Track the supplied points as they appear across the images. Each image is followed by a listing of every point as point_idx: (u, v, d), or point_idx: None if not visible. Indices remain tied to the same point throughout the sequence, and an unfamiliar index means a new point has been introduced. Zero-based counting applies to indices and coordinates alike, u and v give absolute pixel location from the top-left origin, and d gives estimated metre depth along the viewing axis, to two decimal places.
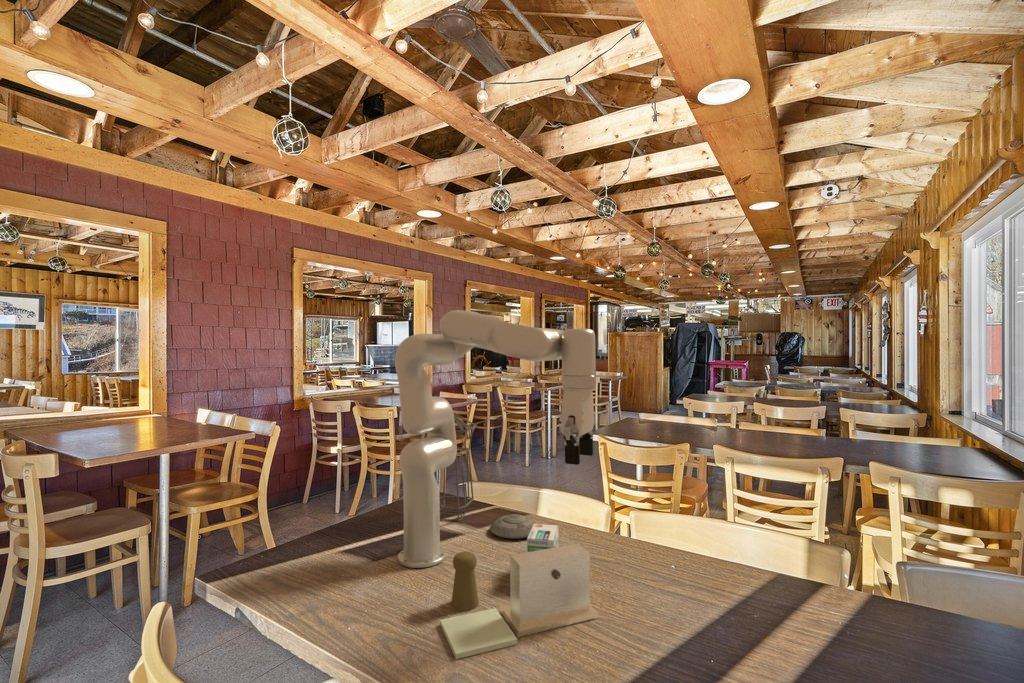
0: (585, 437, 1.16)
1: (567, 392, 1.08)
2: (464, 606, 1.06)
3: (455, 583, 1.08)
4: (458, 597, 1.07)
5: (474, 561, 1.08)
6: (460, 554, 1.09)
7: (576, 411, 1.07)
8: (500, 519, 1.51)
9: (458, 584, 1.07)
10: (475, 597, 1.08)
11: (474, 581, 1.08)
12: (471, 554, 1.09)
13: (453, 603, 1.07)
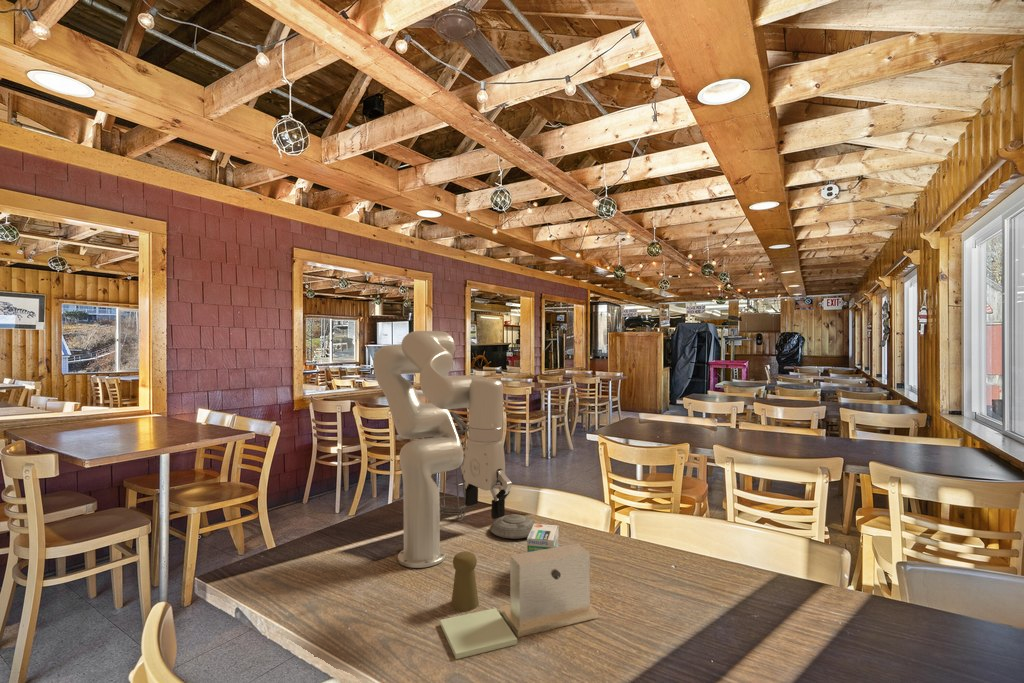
0: (472, 487, 1.14)
1: (493, 446, 1.06)
2: (464, 606, 1.06)
3: (455, 583, 1.08)
4: (458, 597, 1.07)
5: (474, 561, 1.08)
6: (460, 554, 1.09)
7: (502, 464, 1.07)
8: (500, 519, 1.51)
9: (458, 584, 1.07)
10: (475, 597, 1.08)
11: (474, 581, 1.08)
12: (471, 554, 1.09)
13: (453, 603, 1.07)
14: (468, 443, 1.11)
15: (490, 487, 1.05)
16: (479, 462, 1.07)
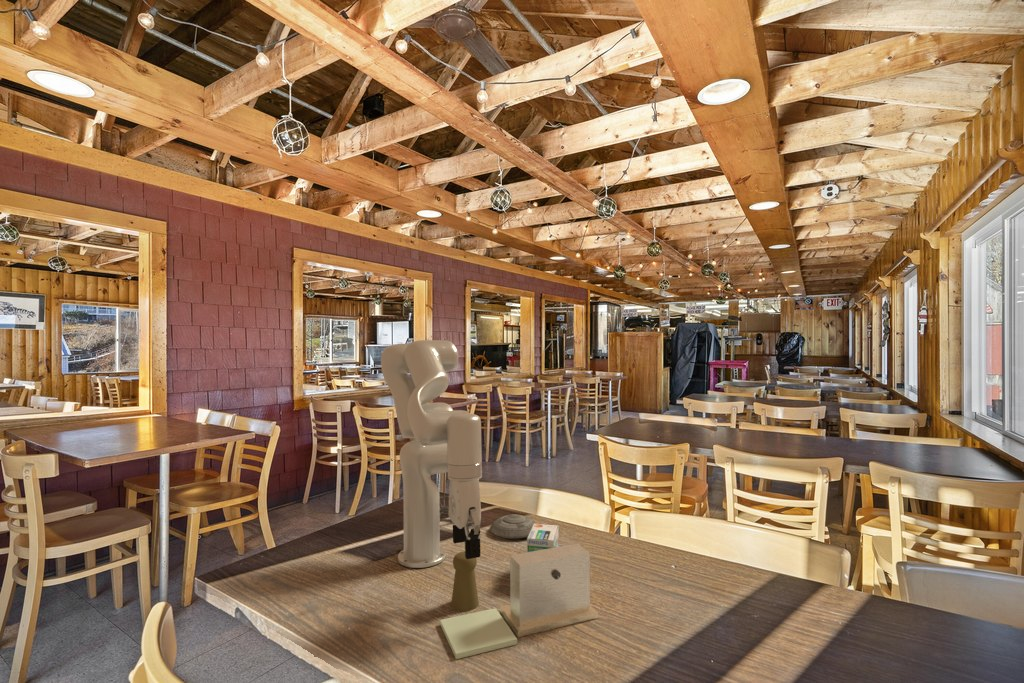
0: None
1: (465, 483, 1.04)
2: (464, 606, 1.06)
3: (455, 583, 1.08)
4: (458, 597, 1.07)
5: (474, 561, 1.08)
6: (460, 554, 1.09)
7: (476, 502, 1.05)
8: (500, 519, 1.51)
9: (458, 584, 1.07)
10: (475, 597, 1.08)
11: (474, 581, 1.08)
12: None
13: (453, 603, 1.07)
14: None
15: (462, 525, 1.03)
16: (454, 499, 1.06)
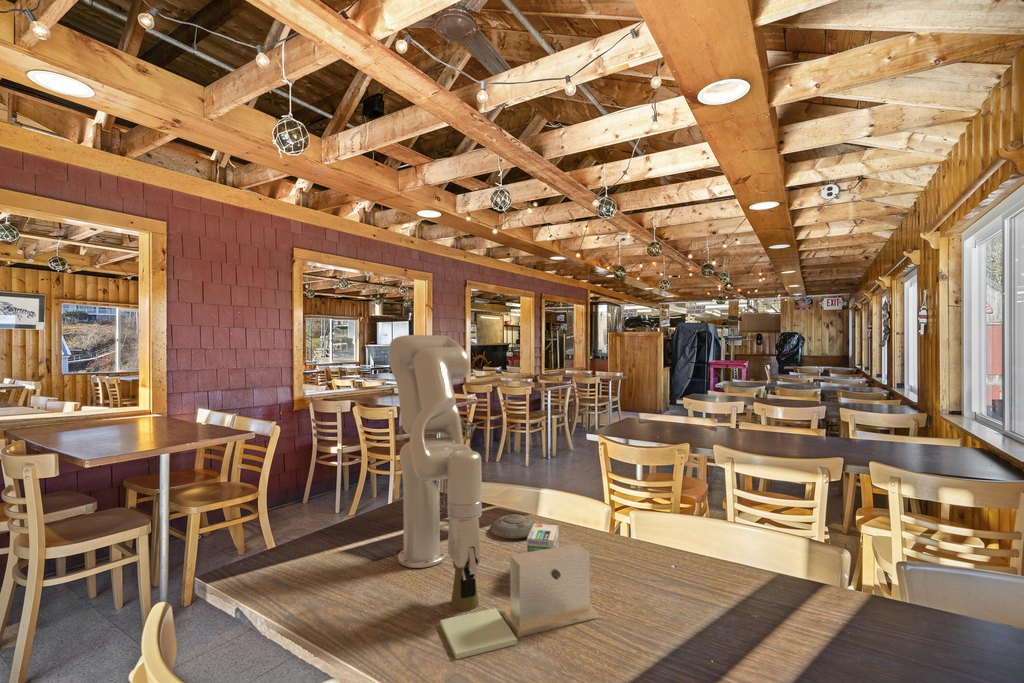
0: None
1: (465, 523, 1.04)
2: (464, 605, 1.06)
3: (455, 583, 1.08)
4: (458, 597, 1.07)
5: None
6: None
7: (476, 541, 1.05)
8: (500, 519, 1.51)
9: (458, 584, 1.07)
10: (475, 597, 1.08)
11: None
12: None
13: (453, 603, 1.07)
14: None
15: (461, 565, 1.04)
16: (454, 537, 1.06)
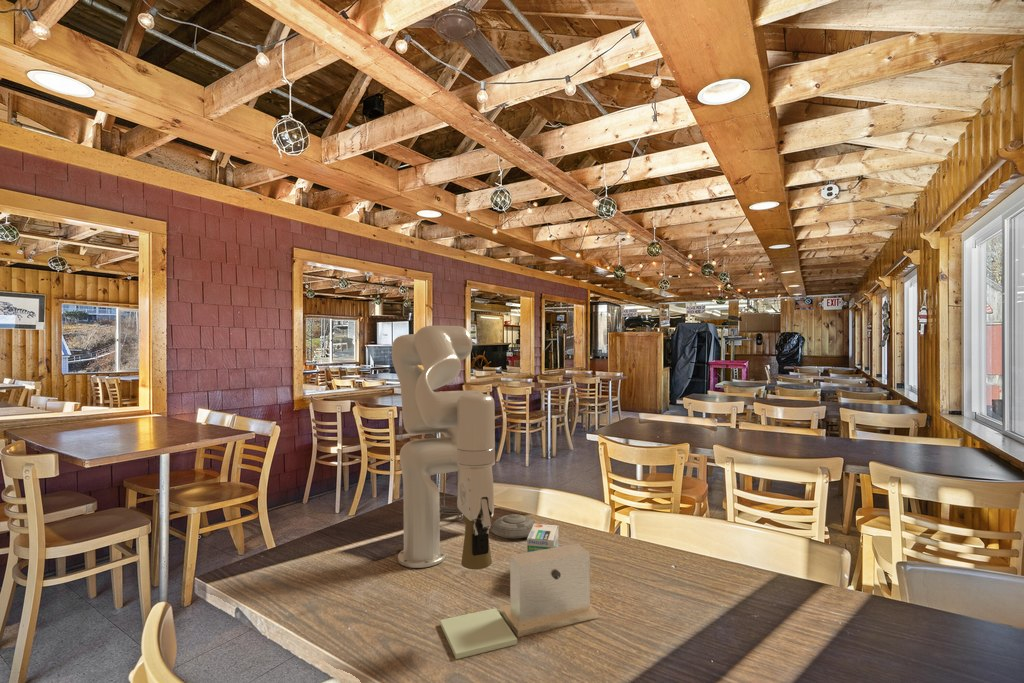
0: None
1: (477, 471, 0.94)
2: (476, 563, 0.95)
3: (466, 539, 0.97)
4: (469, 554, 0.96)
5: None
6: None
7: (489, 491, 0.94)
8: (500, 519, 1.51)
9: (469, 539, 0.96)
10: (488, 554, 0.97)
11: None
12: None
13: (463, 561, 0.96)
14: None
15: (473, 517, 0.93)
16: (465, 487, 0.96)
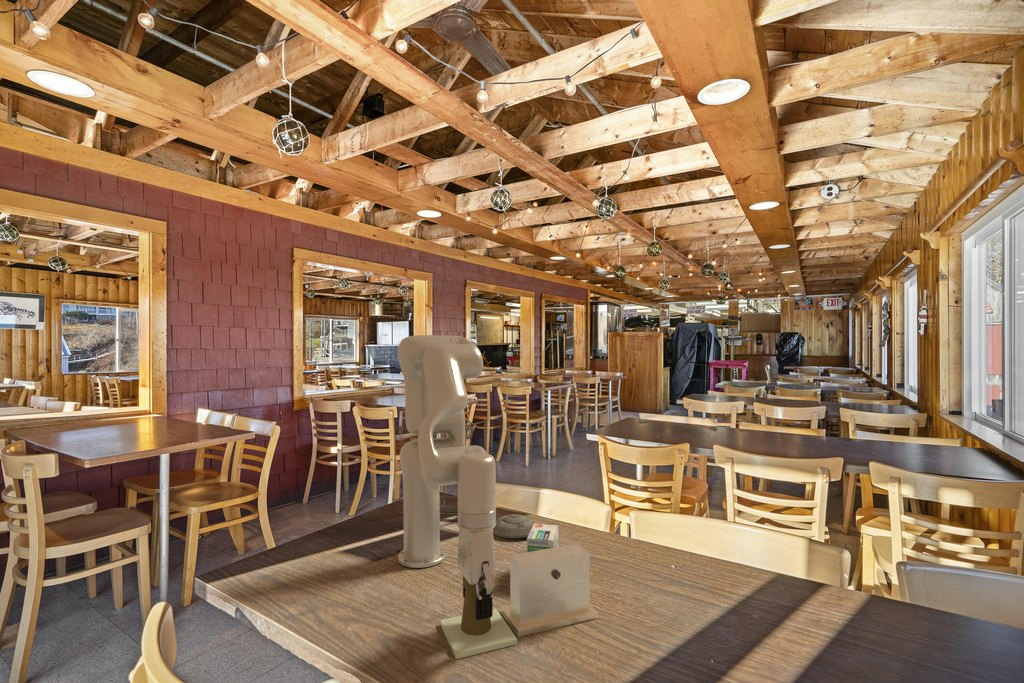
0: None
1: (478, 535, 0.93)
2: (476, 629, 0.95)
3: (465, 604, 0.97)
4: (469, 620, 0.96)
5: None
6: None
7: (490, 555, 0.93)
8: (500, 519, 1.51)
9: (468, 605, 0.96)
10: (487, 619, 0.97)
11: None
12: None
13: (463, 626, 0.97)
14: None
15: (473, 582, 0.92)
16: (465, 550, 0.95)
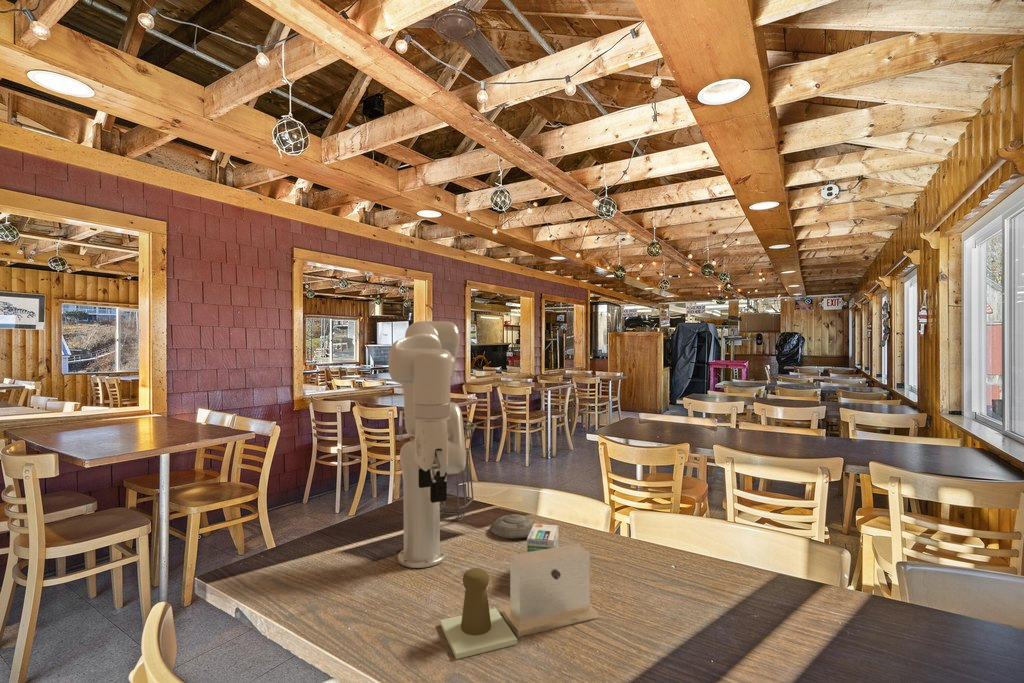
0: None
1: (432, 423, 0.97)
2: (476, 629, 0.95)
3: (465, 604, 0.97)
4: (469, 620, 0.96)
5: (486, 579, 0.97)
6: (471, 571, 0.98)
7: (443, 443, 0.98)
8: (500, 519, 1.51)
9: (468, 605, 0.96)
10: (487, 619, 0.97)
11: (486, 602, 0.97)
12: (483, 571, 0.98)
13: (463, 626, 0.97)
14: (416, 420, 1.04)
15: (427, 467, 0.97)
16: (420, 440, 0.99)
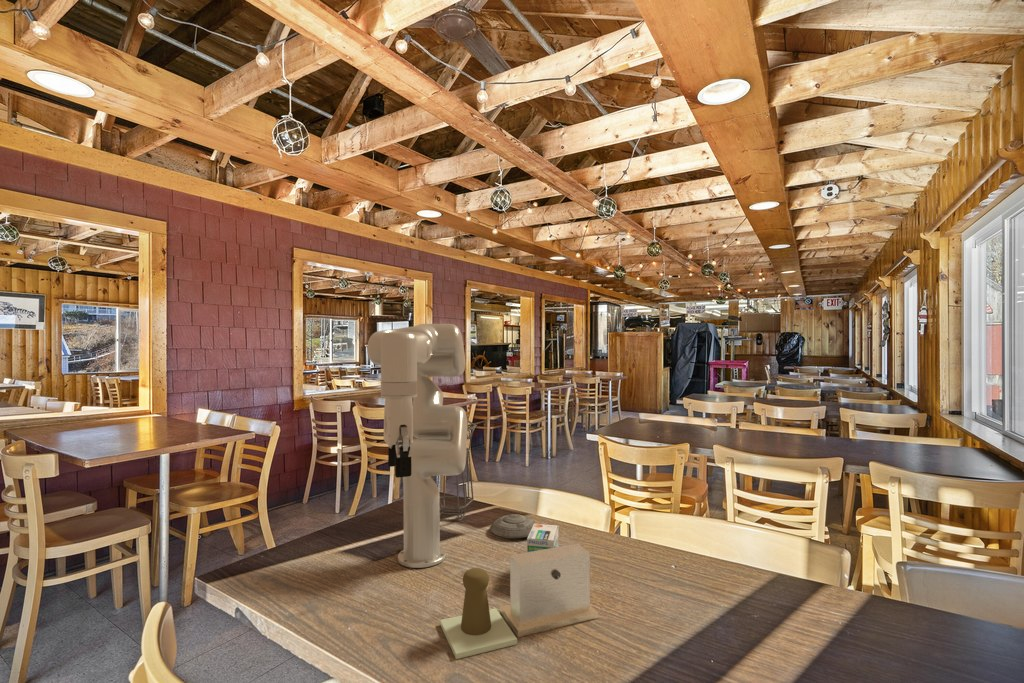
0: (395, 447, 1.09)
1: (397, 400, 1.00)
2: (476, 629, 0.95)
3: (465, 604, 0.97)
4: (469, 620, 0.96)
5: (486, 579, 0.97)
6: (471, 571, 0.98)
7: (408, 420, 1.01)
8: (500, 519, 1.51)
9: (468, 605, 0.96)
10: (487, 619, 0.97)
11: (486, 602, 0.97)
12: (483, 571, 0.98)
13: (463, 626, 0.97)
14: None
15: (392, 443, 1.00)
16: (386, 417, 1.02)
